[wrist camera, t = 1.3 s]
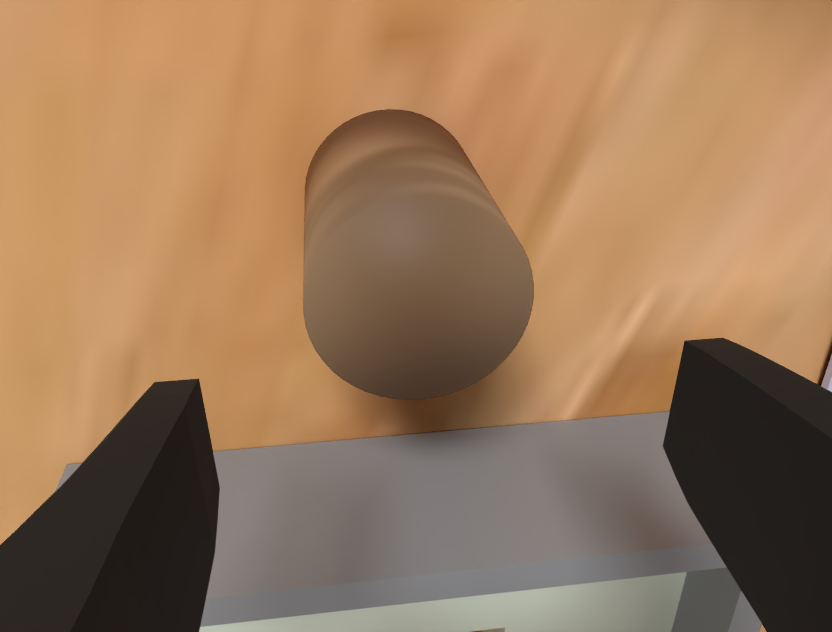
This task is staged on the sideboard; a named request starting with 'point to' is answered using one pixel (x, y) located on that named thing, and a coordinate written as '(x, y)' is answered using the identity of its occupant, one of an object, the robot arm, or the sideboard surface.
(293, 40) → the sideboard surface
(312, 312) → the peg
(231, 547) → the socket box
